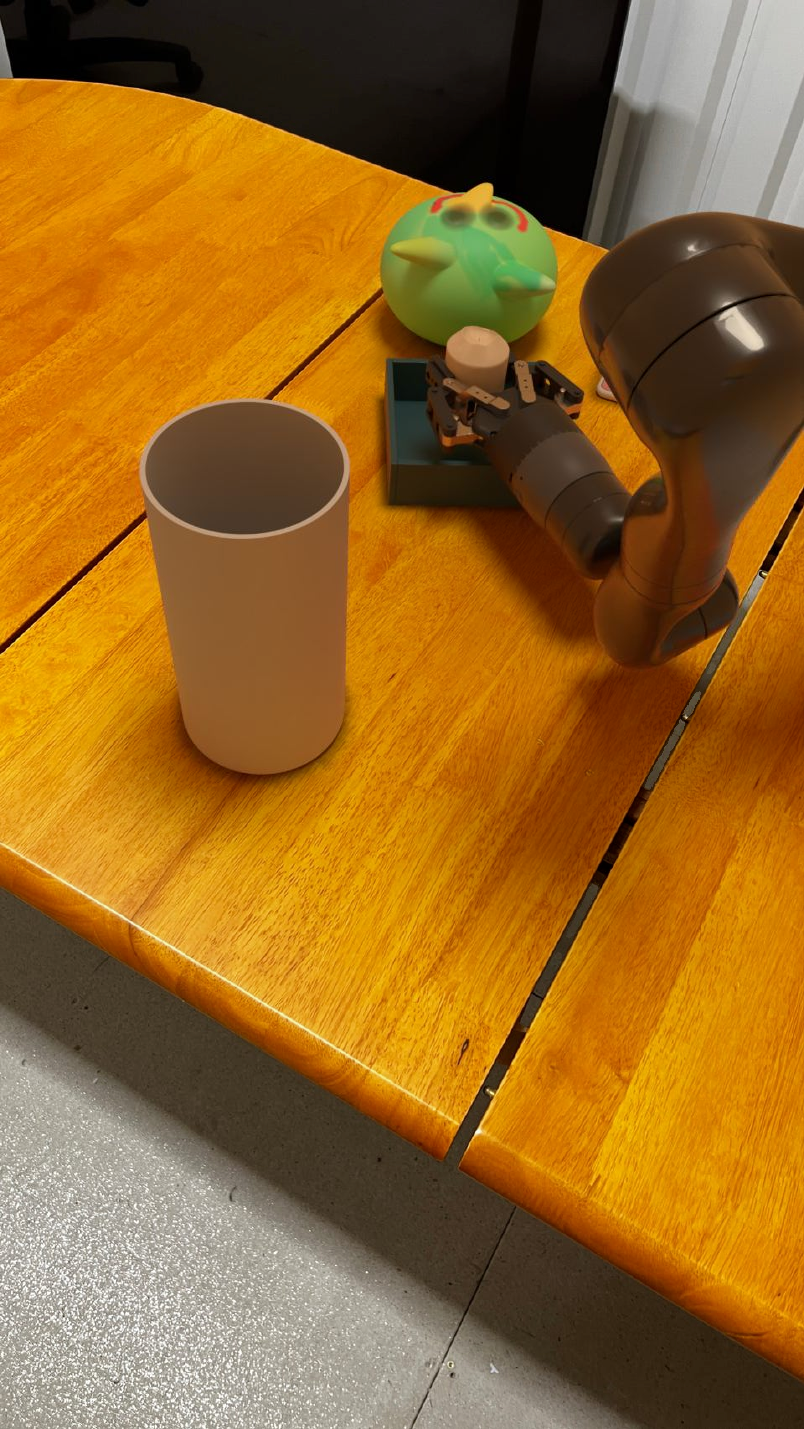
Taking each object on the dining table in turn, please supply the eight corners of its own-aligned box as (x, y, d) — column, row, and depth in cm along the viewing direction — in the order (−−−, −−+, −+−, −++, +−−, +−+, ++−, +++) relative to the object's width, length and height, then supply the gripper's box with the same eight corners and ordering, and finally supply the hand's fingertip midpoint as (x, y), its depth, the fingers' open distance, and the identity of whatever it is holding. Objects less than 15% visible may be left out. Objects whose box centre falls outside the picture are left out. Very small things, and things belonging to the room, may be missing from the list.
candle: (500, 413, 104) (515, 319, 96) (493, 450, 101) (507, 356, 93) (443, 404, 105) (453, 310, 97) (434, 440, 101) (443, 346, 93)
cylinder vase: (345, 652, 90) (350, 401, 70) (343, 780, 83) (349, 541, 62) (191, 649, 89) (151, 395, 69) (175, 778, 82) (126, 536, 62)
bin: (534, 404, 111) (542, 361, 106) (552, 509, 102) (562, 467, 97) (383, 401, 110) (385, 357, 105) (388, 507, 101) (391, 464, 96)
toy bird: (547, 298, 122) (571, 167, 110) (544, 393, 112) (569, 260, 100) (386, 281, 122) (392, 148, 110) (368, 374, 112) (373, 239, 100)
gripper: (638, 414, 90) (536, 303, 99) (483, 457, 85) (391, 336, 94) (619, 485, 96) (524, 374, 105) (472, 528, 91) (387, 408, 100)
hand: (462, 357), depth 99 cm, fingers closed on candle, 5 cm apart
